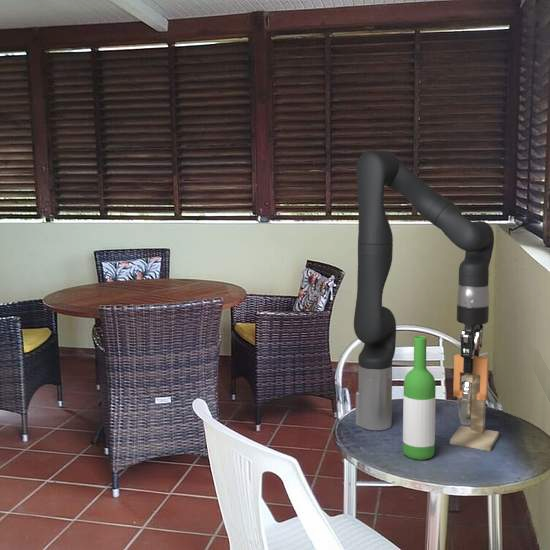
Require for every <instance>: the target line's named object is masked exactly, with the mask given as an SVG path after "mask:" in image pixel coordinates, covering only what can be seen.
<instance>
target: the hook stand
mask: <svg viewBox="0 0 550 550" xmlns="http://www.w3.org/2000/svg"><path fill="white" fill-rule="evenodd" d="M465 375H466V382H470V383H472V402H471V426H466V425H459V427H458V428H457V429H456V431H455V432H454V434H453V435H452V436H451V437H450V440H449V444H450V445H453V446H458V447H459V446H460V447H466V448H472V449H475V450H476V449H477V450H483V451H488V452H491V450H492V448H493V446H494V445H495V443H496V441H497V439H498V437H499V436H500V435H499V434H500V431H497V430H491V429H485V428H486V402H487V400H486V401H482V400H477V393H478V392H480V375H479V374H468V373H465Z"/></svg>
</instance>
